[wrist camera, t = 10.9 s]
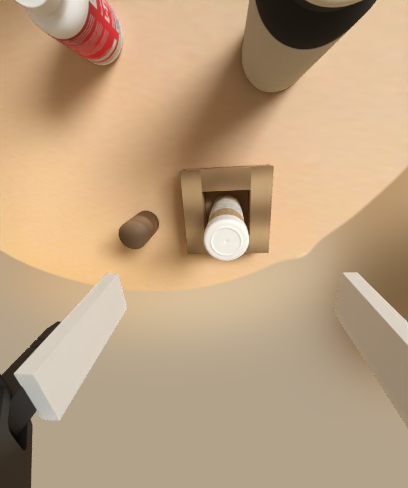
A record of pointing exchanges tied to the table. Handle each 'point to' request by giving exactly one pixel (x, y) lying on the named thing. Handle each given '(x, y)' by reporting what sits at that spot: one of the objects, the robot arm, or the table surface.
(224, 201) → the sprinkles bottle
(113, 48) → the pill bottle
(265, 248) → the oak collar
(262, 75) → the travel mug
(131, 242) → the walnut stub
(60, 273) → the table surface
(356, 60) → the table surface
